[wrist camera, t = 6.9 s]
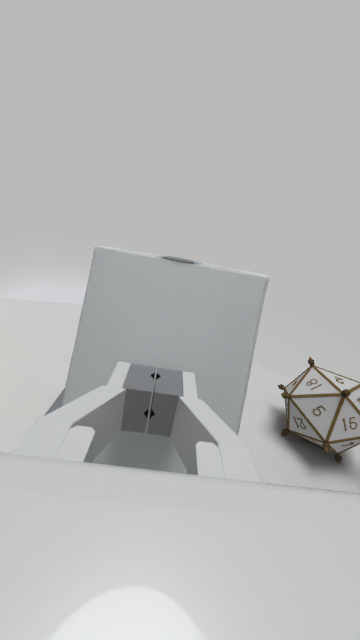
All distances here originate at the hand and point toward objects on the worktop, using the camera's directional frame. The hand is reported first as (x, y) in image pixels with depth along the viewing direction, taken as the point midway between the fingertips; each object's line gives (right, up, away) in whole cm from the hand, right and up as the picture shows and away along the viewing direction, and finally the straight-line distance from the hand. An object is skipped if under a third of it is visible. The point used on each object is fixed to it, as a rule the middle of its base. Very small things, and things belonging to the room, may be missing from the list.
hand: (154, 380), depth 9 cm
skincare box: (-2, -9, +3) cm, 10 cm away
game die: (+14, -10, +14) cm, 22 cm away
